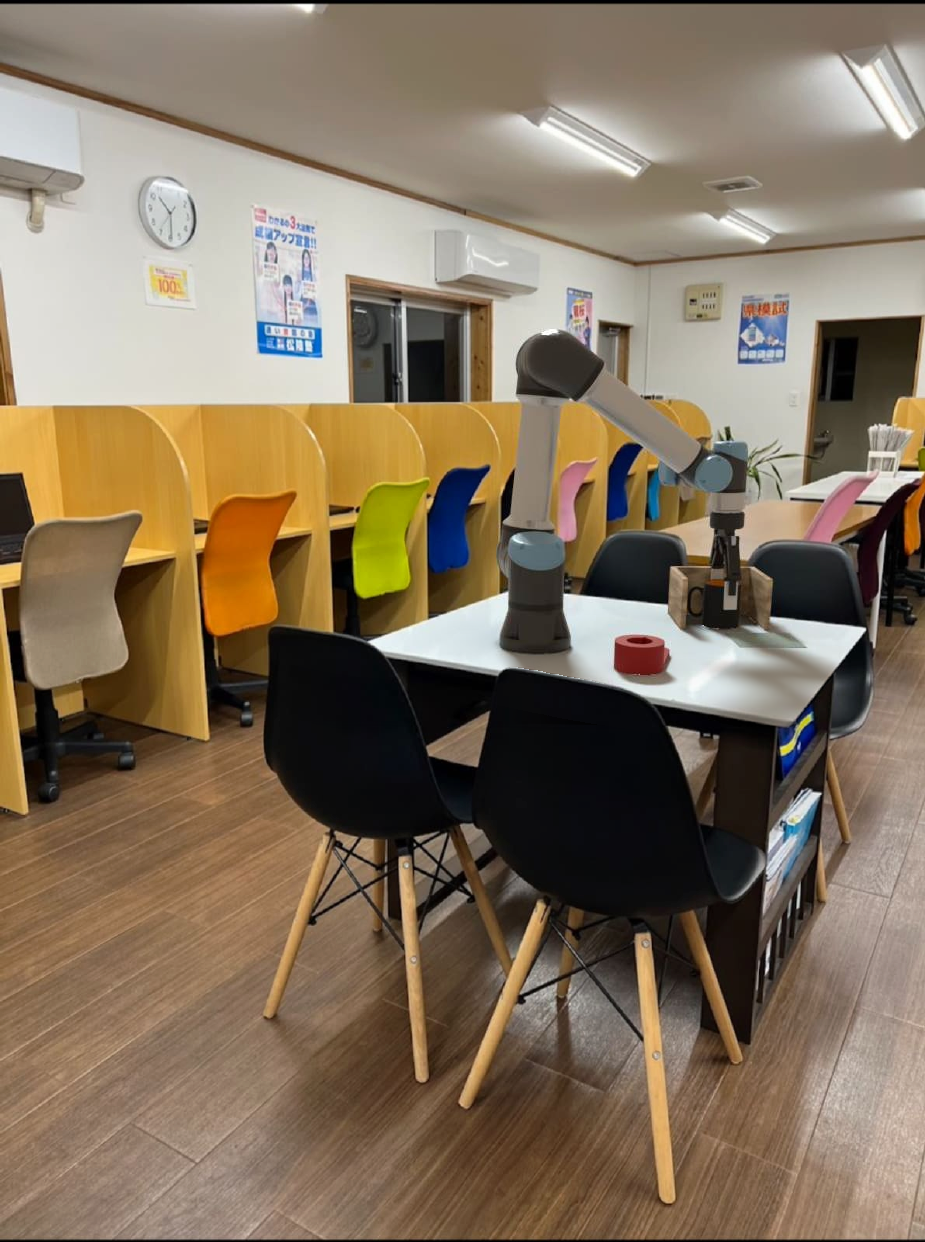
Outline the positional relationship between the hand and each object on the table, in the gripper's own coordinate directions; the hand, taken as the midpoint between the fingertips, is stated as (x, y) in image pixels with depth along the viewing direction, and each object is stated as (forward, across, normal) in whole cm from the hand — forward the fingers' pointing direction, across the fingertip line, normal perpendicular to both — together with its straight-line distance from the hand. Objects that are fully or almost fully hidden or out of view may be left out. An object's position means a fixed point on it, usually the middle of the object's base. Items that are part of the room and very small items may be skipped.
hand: (722, 602), depth 206 cm
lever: (+6, -34, +22) cm, 41 cm away
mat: (+6, -14, -6) cm, 16 cm away
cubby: (+6, +3, 0) cm, 7 cm away
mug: (+6, +1, +2) cm, 6 cm away
